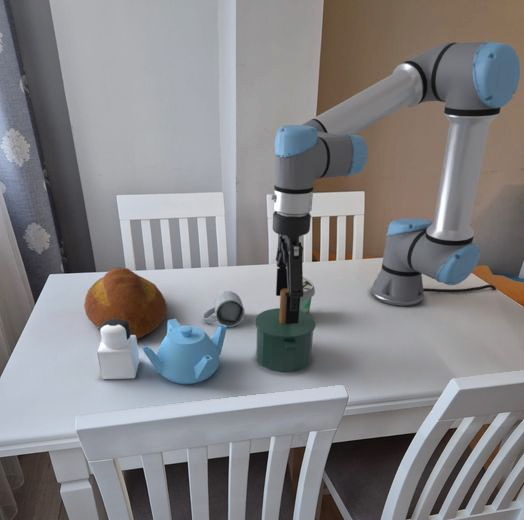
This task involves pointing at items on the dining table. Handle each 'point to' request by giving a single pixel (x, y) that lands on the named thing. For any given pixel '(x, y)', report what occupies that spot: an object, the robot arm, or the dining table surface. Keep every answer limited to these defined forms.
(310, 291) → the food container
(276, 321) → the canister lid
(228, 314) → the ceramic mug
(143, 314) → the bread
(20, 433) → the dining table surface
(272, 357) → the canister
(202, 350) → the teapot
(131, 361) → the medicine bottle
